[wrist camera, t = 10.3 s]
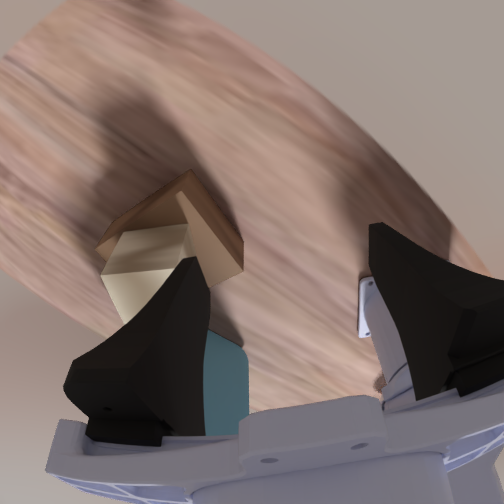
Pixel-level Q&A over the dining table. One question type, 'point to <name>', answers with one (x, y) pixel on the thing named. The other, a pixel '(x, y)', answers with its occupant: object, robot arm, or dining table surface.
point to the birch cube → (144, 265)
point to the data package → (224, 386)
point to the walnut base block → (185, 212)
